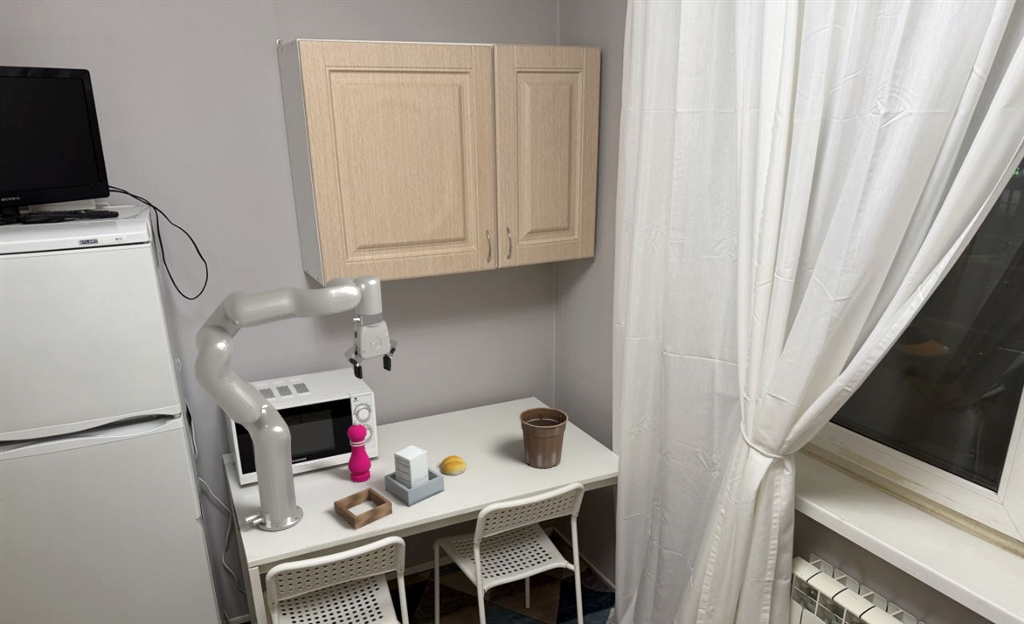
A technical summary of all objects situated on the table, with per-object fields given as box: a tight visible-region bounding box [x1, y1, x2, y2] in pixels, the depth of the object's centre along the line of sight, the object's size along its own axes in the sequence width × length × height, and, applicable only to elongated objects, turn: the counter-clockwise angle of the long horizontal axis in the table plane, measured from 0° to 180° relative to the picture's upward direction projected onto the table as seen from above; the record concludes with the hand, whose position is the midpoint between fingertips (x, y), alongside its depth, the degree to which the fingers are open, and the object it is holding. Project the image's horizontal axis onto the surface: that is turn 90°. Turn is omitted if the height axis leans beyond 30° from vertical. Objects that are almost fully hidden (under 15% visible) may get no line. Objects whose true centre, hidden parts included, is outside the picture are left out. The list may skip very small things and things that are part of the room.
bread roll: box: [440, 455, 467, 476], centre depth 211 cm, size 8×9×4 cm
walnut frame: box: [333, 487, 393, 531], centre depth 187 cm, size 12×12×4 cm
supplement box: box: [393, 444, 429, 489], centre depth 197 cm, size 7×7×13 cm
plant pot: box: [518, 406, 569, 469], centre depth 215 cm, size 16×16×16 cm
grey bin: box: [384, 467, 445, 508], centre depth 198 cm, size 13×13×5 cm
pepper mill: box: [347, 420, 372, 483], centre depth 205 cm, size 7×7×20 cm
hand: (373, 373), depth 190 cm, fingers open, 9 cm apart
